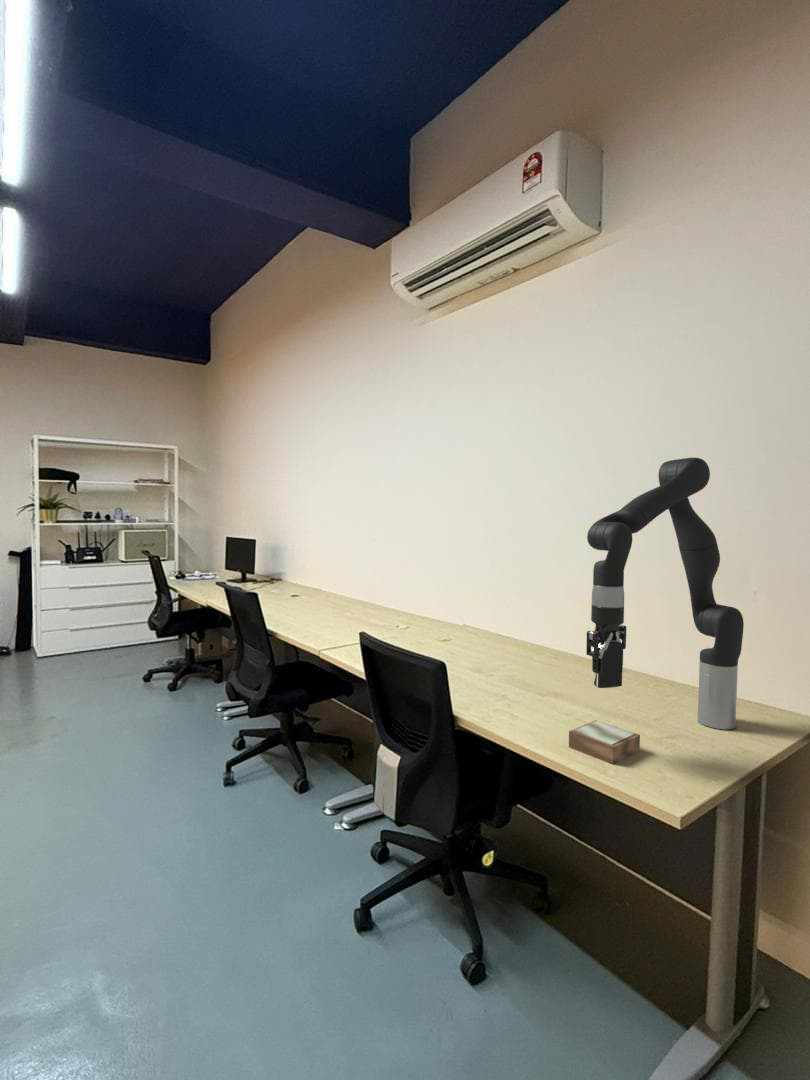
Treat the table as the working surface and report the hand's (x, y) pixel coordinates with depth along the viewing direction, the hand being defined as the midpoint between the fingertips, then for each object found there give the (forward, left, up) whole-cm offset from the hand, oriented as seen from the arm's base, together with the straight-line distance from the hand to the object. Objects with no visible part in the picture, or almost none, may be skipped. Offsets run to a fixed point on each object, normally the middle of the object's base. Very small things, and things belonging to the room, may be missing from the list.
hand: (606, 669), depth 136 cm
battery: (0, 0, -4) cm, 4 cm away
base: (0, 0, -20) cm, 20 cm away
